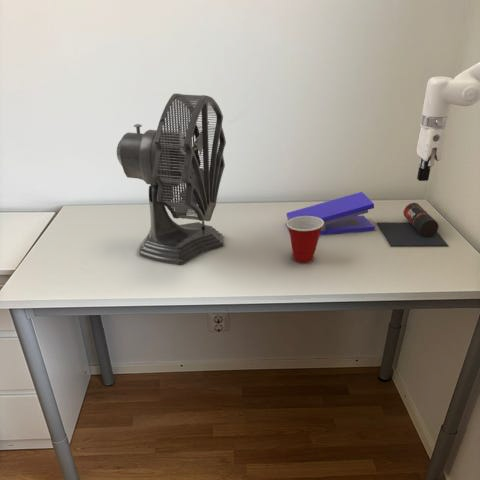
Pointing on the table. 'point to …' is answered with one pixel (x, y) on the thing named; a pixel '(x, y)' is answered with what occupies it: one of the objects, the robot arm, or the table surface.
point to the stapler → (340, 214)
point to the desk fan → (178, 178)
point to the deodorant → (421, 220)
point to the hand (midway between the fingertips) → (422, 179)
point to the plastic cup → (304, 236)
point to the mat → (408, 235)
